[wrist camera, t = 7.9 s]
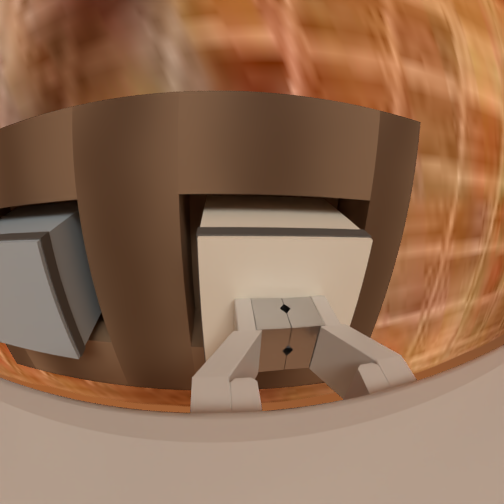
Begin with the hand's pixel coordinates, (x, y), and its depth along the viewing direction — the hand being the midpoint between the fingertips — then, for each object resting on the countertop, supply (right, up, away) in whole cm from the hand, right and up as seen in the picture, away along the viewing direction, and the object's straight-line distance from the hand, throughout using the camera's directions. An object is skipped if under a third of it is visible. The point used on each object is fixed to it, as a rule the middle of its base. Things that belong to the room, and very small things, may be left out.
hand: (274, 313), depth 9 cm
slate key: (-11, +2, +3) cm, 12 cm away
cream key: (0, +2, +4) cm, 5 cm away
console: (-6, +3, +6) cm, 9 cm away
